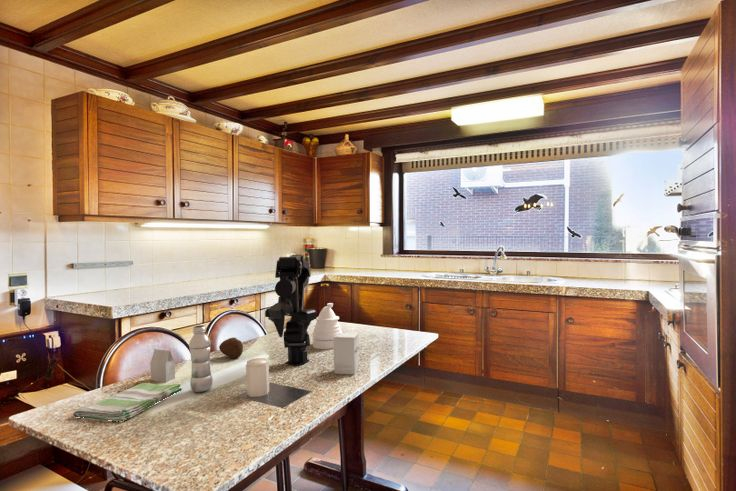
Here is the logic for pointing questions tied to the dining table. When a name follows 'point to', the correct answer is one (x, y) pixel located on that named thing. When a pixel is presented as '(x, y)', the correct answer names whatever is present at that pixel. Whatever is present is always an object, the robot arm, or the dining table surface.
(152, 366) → the grey gabled carton
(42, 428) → the dining table surface
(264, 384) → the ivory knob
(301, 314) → the robot arm
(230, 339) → the potato
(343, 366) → the supplement box
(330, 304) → the honey pot
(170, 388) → the dish towel
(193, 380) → the plastic bottle
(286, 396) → the plate
